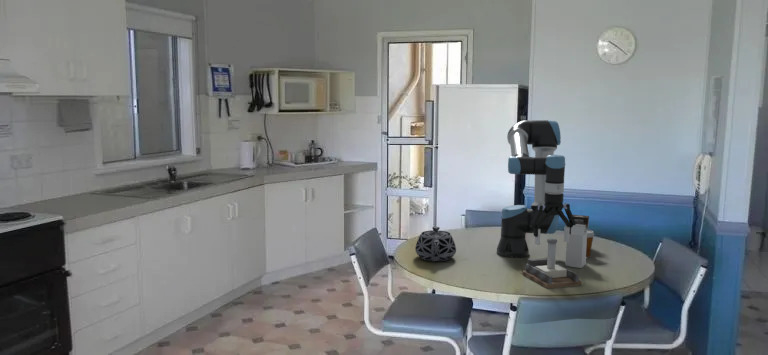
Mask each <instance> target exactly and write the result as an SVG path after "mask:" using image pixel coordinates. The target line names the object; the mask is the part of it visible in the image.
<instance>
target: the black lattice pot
mask: <svg viewBox="0 0 768 355" xmlns="http://www.w3.org/2000/svg"><path fill="white" fill-rule="evenodd" d="M414 248H415V253H416V254H417V256H418V257H419V258H420V259H422V260H423V259H424V260H423V261H427V262H435V261H439V262H446V261H449V260H451V259H452V257H454V256H455V255H456V252H457V247H456V242H455V240H454V238H453V236H452V234H451V233H450V232H449V231H445V230H440V227H439V226H432V230H424V231H422V232H421V233H420V234H419V235H418V239H417V241H416V244H415V247H414Z"/></svg>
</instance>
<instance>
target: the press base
mask: <svg viewBox="0 0 768 355" xmlns="http://www.w3.org/2000/svg"><path fill="white" fill-rule="evenodd" d="M545 265H547V257H539V258H536V257H535V258H528V259H527V263H525V270H522V272H521V274H522V275H523V276H525V277H526V278H529V279H530V280H532V281H533V282H535V283H537V284H539V285H540V286H542V287H544V288H545V289H552V288H553V289H554V288H564V287H573V286H582V284H583V281H581V280H580V278H579V276H580V274H579V273H577V272H575V271H572V270H570V269H569V268H567V267H564V266H563V265H560V264H558V263H556V262H555V265H558V266H560V267H562V268H564V269H566V270H567V277H558V278H553V277H552V276H550V275H548V274H546V273H545V272H543V271H541V270H539V269H537V268H535V266H545Z"/></svg>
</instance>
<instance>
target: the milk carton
mask: <svg viewBox="0 0 768 355" xmlns="http://www.w3.org/2000/svg"><path fill="white" fill-rule="evenodd" d="M586 246H587V230H586V225H580V224H576V225H573V227H571V234H569V243H567V242H566V247H565V248H566V251H565V252H566V253H565V266H566V267H571V268H579V269H582V268H583V267H584V266H585V265H586V264H587V261H586V260H587V257H586Z"/></svg>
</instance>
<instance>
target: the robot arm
mask: <svg viewBox="0 0 768 355" xmlns="http://www.w3.org/2000/svg"><path fill="white" fill-rule="evenodd" d="M560 129H561V128H560V125H559V123H558V121H556V120H549V119H548V120H544V119H543V120H535V119H534V120H528V119H525V120H521V121H518V122H516V123H515V124H513V125H512V126H511V128H509V130H508V132H507V143H508V144H509V145H510V153H511V156H509V157H508V160H507V162H508V163H507V172H508V173H509V174H511V175H517V176H518V175H534V195H533V197H534V198H533V199H534V200H533V202H532V203H531V204H530V208H528V206H526V205H524V204H522V205H521V204H516V205H515V204H514V205H508V206H505V207H504V208H502V210H501V216H500V219H501V220H500V221H501V224H500V239H499V241H498V244H497V247H496V254H497V255H498V256H502V257H507V258H524V257H527V256H528V255H529V250H530V249H529V246H528V243H527V239H526V234H533V236H534V244H535V245H538V246H541V234H545V235H548V234H550V235H551V234H552V235H553V234H555V233H556V231H557V229H558V225H559V221H560V220H559V219H561V220H562V222H563V223H564V224H565V225H564V227H563V228H564V229H563V230H564V232H563V242H564V243H566V244H567V243H569V234H571V227H573V225H576V223H575V220H574V218H573V215H574V214H573V213H572V211H571V205H570V203H567V202H565V203H564V195H565V194H564V191H565V171H566V170H565V169H566V157H565V156H564V155H561V154H554V153H555V152H556V150H557V149H558V146H560V145H561V137H562V136H561V130H560ZM528 145H532V146H531V149H532V150H533V151H534V154H535V156H530V152H529V147H528ZM563 210H564V211H565V213H564V212H563ZM565 214H566V215H565Z"/></svg>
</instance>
